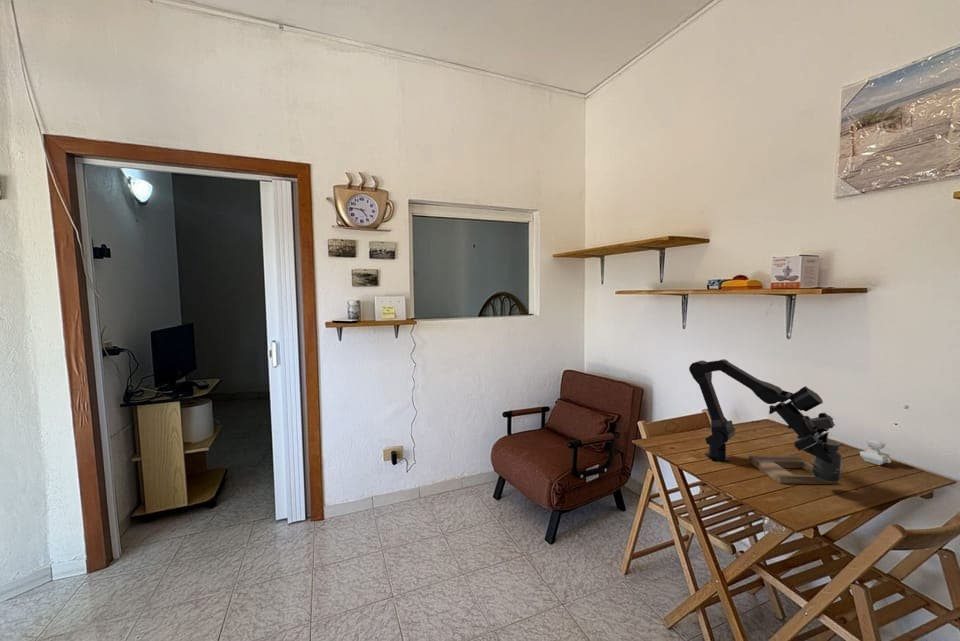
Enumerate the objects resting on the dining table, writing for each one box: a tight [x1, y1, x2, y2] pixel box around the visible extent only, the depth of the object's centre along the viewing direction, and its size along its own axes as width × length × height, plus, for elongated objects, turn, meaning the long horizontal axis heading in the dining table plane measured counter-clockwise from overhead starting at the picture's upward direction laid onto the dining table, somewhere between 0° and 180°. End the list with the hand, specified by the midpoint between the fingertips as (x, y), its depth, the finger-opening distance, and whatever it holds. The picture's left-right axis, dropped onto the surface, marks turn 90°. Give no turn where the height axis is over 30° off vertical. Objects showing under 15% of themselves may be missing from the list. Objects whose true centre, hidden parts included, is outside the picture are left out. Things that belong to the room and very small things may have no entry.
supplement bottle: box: [812, 440, 843, 483], centre depth 131 cm, size 7×7×12 cm
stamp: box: [859, 439, 892, 466], centre depth 152 cm, size 9×7×8 cm
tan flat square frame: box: [747, 454, 834, 485], centre depth 145 cm, size 17×18×2 cm
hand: (833, 459), depth 130 cm, fingers closed on supplement bottle, 7 cm apart
